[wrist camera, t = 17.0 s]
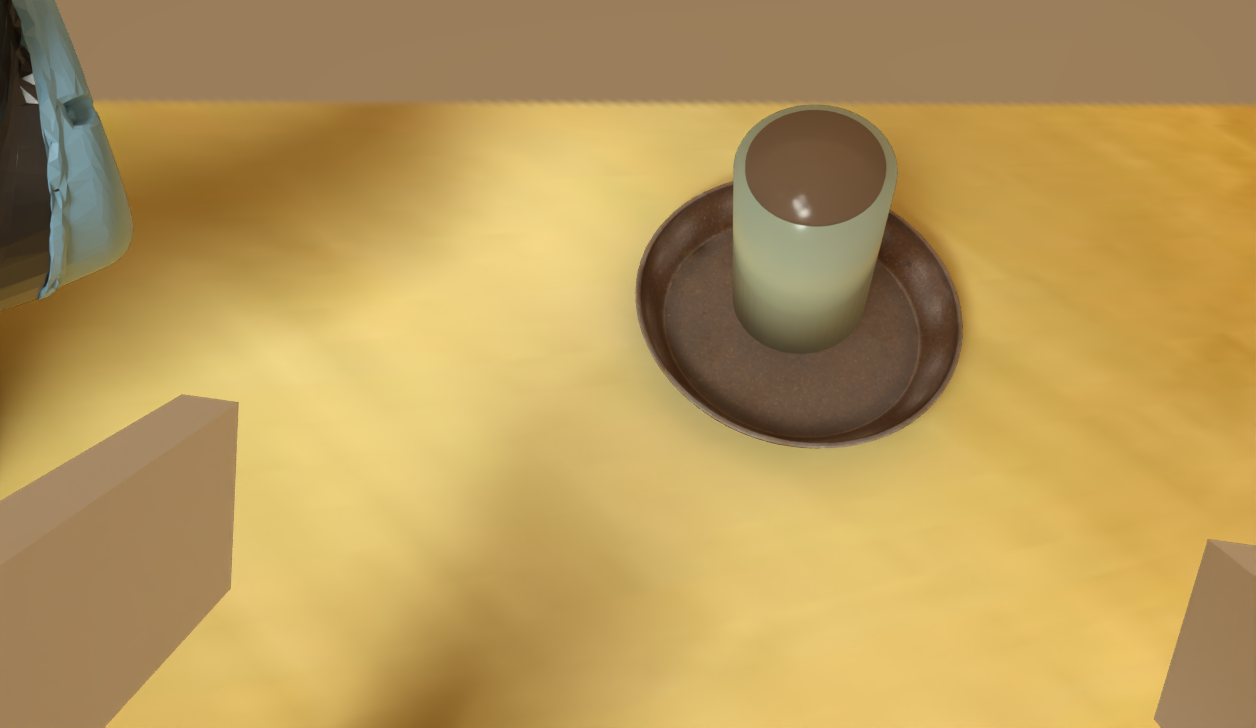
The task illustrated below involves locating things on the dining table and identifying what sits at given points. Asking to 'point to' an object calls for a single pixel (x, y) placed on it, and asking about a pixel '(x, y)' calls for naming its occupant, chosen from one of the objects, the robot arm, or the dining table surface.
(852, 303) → the pale green cup
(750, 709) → the dining table surface
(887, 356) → the plant saucer
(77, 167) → the robot arm
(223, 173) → the dining table surface
